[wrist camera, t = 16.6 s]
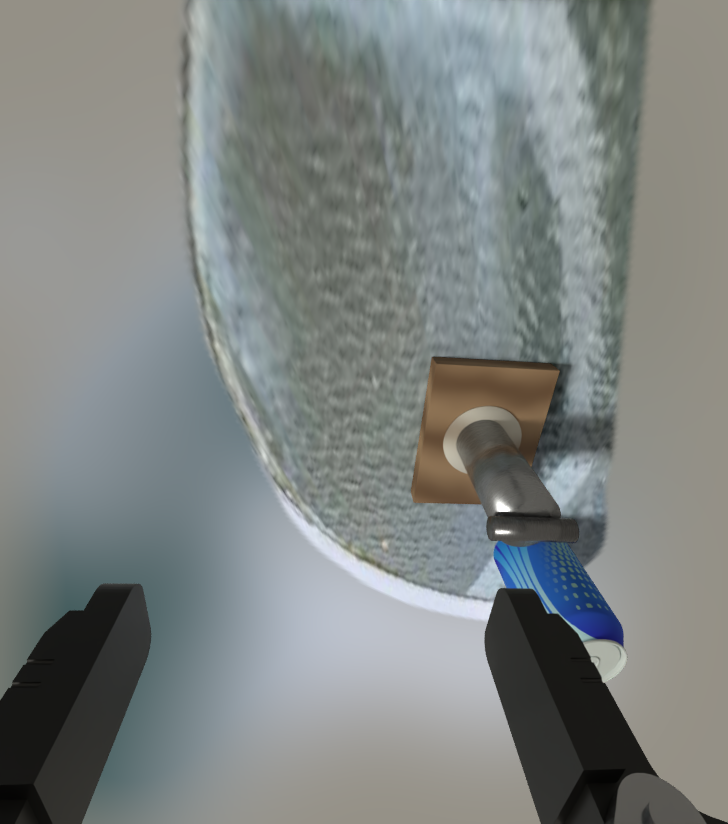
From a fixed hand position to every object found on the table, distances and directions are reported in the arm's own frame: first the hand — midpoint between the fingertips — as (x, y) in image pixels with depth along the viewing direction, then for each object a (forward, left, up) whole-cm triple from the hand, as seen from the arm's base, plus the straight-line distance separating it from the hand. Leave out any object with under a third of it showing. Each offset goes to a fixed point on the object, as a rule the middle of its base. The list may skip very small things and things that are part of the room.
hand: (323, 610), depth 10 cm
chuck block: (+13, +16, -33) cm, 39 cm away
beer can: (+28, +25, -33) cm, 50 cm away
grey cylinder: (+13, +16, -31) cm, 37 cm away
